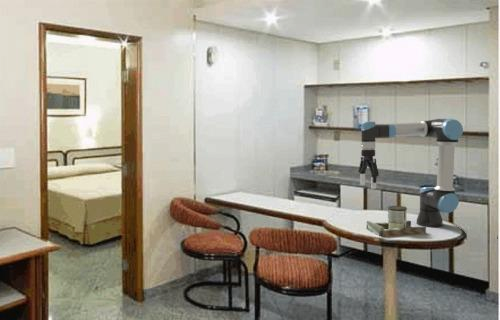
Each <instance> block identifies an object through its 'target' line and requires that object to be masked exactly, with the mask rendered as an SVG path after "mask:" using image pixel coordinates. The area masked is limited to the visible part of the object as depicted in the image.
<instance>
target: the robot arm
mask: <svg viewBox="0 0 500 320" xmlns="http://www.w3.org/2000/svg"><path fill="white" fill-rule="evenodd" d="M360 128H361V129H360V131H361V133H360V134H361V143H360V146H361V153H360V154H361V157H360V163H359V167H358V173H359V174H360V181H359V182H360V186H366V171H367V168H369V171H370V174H371V176H370V178H371V179H370V181H371V182H370V183H371V184H370V187H371V190H373V189H377V177H379V176H380V175H379V171H378V165H377V158H374V157H376V139H391V138H395V137H408V136H409V137H410V136H411V137H413V136H415V137H416V136H420V137H422V138H424V137H425V138H433V139H436V141H435V142H436V143H437V144H438V155H437V157H438V159H437V172H436V173H437V175H436V186H427V187H425V186H424V187H421V188H420V190H419V212H418V215H417V218H416V224H417V225H418V226H421V227H423V226H424V227H430V228H431V227H432V228H433V227H435V228H436V227H442V226H443V224H444V222H443V221H444V220H443V218H442V215H441V213H446V214H448V213H452V212H454V211H456V209H457V207H458V206H459V203H460V201H459V200H460V199H459V197H458V196H457V195H456V189H455V188H454V171H455V170H454V169H455V168H454V167H455V151H456V145H457V144H458V143H459V139H460V138H461V136H463V133H464V128H463V125H462V123H461V122H460V121H459V120H457V119H454V118H437V119H436V118H434V119H429V120H421V121H420V122H407V123H406V122H405V123H404V122H402V123H376V122H375V121H363V122H362V123H361V127H360Z"/></svg>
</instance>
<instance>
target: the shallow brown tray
mask: <svg viewBox="0 0 500 320" xmlns="http://www.w3.org/2000/svg"><path fill="white" fill-rule="evenodd" d="M384 228H388V222H385V221H383V222H373V221H371V220H366V230H367V229H368V230H367V231H369V230H370V231H369V232H371V231H372V232H371V233H373V232H374V233H376V234H377V235H376V234H375V235H376V236H378V235H379V237H380V236H381V237H391V236H392V237H394V236H405V235H406V236H407V235H409V236H410V235H421V234H423V235H424V234H426V232H427V231H426V230H427V226H413V227H412V221H411V220H406V228H403V229H399V228H393V229H384ZM374 233H373V234H374Z"/></svg>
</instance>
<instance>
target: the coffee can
mask: <svg viewBox="0 0 500 320" xmlns="http://www.w3.org/2000/svg"><path fill="white" fill-rule="evenodd" d="M387 209H388V210H387V219H388V221H387V223H388V229H393V228H399V229H403V228H407V227H406V221H407V209H408V208H407V207H406V206H402V205H389V206H388V207H387Z"/></svg>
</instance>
